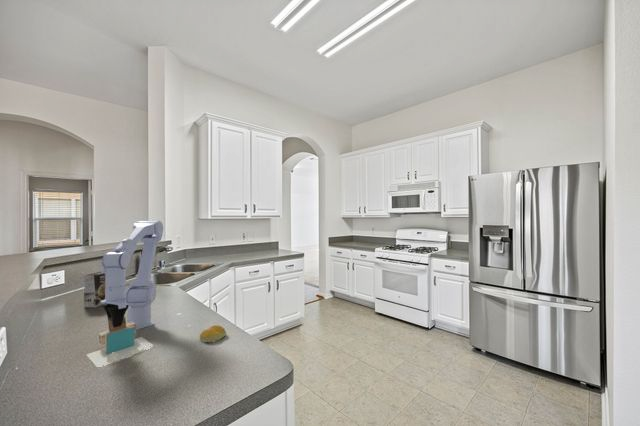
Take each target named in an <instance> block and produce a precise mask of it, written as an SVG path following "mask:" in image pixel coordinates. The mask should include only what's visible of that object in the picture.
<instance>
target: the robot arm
mask: <svg viewBox="0 0 640 426" xmlns="http://www.w3.org/2000/svg"><path fill="white" fill-rule="evenodd" d="M163 224H164V223H163V222H162V221H161V220H136V221H135V222H134V223H133V227H132V228H133V229H132V232H131V234H130V235H128V237H127V238H124V239H122V240H121V241H120V242H119V243H118V244H117V245H116V246H115V247H114V249H113V250H112V251H110V252H106V253H105V254H104V255H103V257H102V260H101V263H100V264H101V267H102V268H103V269H102V270H103V272H104V274H106V278H105V300H102V301H101V303H102V304H103V305H101V306H102V308H103V309H104V311H105V313H106V316H107V319H108V318H111V317H112V323H113V326H114V327H118V326H121V325H122V322H123V318H124V316H125V314H126V312H127V317H126V318H127V322H126V324H128V323H131V322H133V323H135V324H136V331H137V330H141V329H144V328H147V327H150V326H154V325H156V323H155V322H153V321H152V303H153V302H154V301H155V300H156V297H157V284H156V283H155V282H154V281H152V280H151V278H152V272H153V269H154V268H153V267H154V262H155V258H156V257H155V256H156V253H157V246H158V243H159V242H160V241H162V238H163V234H164V225H163ZM139 242H142V243H143V247H142V250H141V256H140V261H139V265H138V270H137V274H136V279H135V280H134V281H132V282H131V283H129V284H128V287H127V285H126V284H127V283H126V282H127V277H126V276H127V267H128V266H130V262H131V258H132V255H133V254H134V252H135V251H136V250H137V249H138V243H139ZM126 288H127V289H126ZM104 303H106V304H104Z"/></svg>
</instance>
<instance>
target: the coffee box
mask: <svg viewBox="0 0 640 426" xmlns="http://www.w3.org/2000/svg"><path fill="white" fill-rule="evenodd" d="M105 278H106V274H104V271H98V272H93V273H89V274H85V275H84V283H83V284H84V285H83V286H84V291H83V292H84V293H83V308H98V307H101V306H102V305H103V304H102V303H101V301H102V300H105ZM104 304H107V303H104Z"/></svg>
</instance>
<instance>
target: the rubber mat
mask: <svg viewBox="0 0 640 426" xmlns="http://www.w3.org/2000/svg"><path fill="white" fill-rule="evenodd" d="M153 345H154V344H153V343H151V342H150V341H148V340H147V339H145V338H144V337H142V336H140V337H137V338H134V345H133V346H130V347H127V348H124V349H121V350H118V351H115V353H117V354H118V356H119V357H118V356H117V355H116V357H117V358H118V360H117V361H115V362H114V361H113V362H114V363H117V362H120V361H121V360H120V359H121V358H122V356H124V358H125V357H126V359H128V358H130V357H131V358H132V357H133V354H132V353H131V352H130V351H132V350H135V351H136V350H139V351H140V350H142V349H143V348H144V349H143V350H145V349H146V350H148V349H149V350H148V351H150V348H151V347H152V346H153ZM150 346H151V347H150ZM132 352H133V351H132ZM110 354H112V353H109V354H105V348H102V349H99V350H96V351H93V352H89V353H87V354H86V357H88V359H89V360H90V362H91V363H93V364H94V365H95V367H96V368H97V367H101V368H103V367H106V366H109V365H112V364H113V363H112V362H110V361H111V360H110V361H109V362H110V363H109V362H107V359H108V358H109V357H110V356H111V355H110ZM129 354H130V356H129ZM135 354H136V353H135ZM109 355H110V356H109ZM108 356H109V357H108ZM117 358H116V359H117ZM108 364H109V365H108ZM103 365H104V366H103Z"/></svg>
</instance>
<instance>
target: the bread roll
mask: <svg viewBox="0 0 640 426" xmlns="http://www.w3.org/2000/svg"><path fill="white" fill-rule="evenodd" d="M226 334H227V331H226V329H225V328H224V327H223V326H221V325H217V324H216V325H215V324H214V325H212V326H210V327H208V329H205V330H203V331H201V333H200V335H199V340H200V341H201V342H202V343H205V342H212V343H214V342H213V341H217V340H219V341H221V340H222V339H224V338H223V337H224V336H225V337H226ZM221 338H222V339H221ZM220 339H221V340H220ZM217 342H218V341H217Z"/></svg>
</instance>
